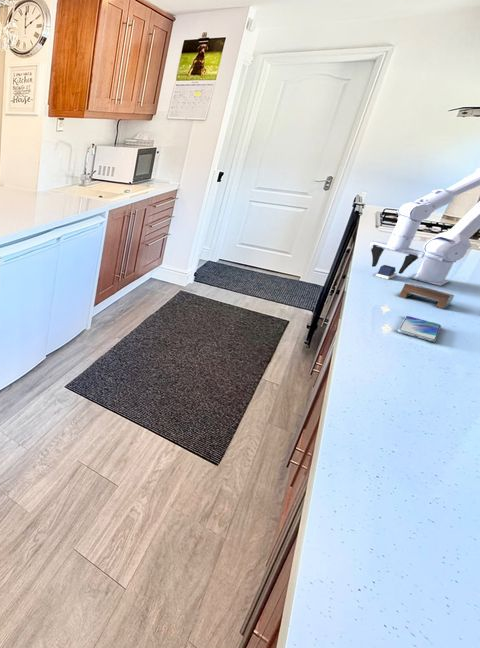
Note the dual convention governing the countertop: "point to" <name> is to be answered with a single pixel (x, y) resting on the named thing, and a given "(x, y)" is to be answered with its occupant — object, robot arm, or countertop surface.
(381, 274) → the trainer
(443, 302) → the shoe shelf
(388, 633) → the countertop surface
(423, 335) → the smartphone
